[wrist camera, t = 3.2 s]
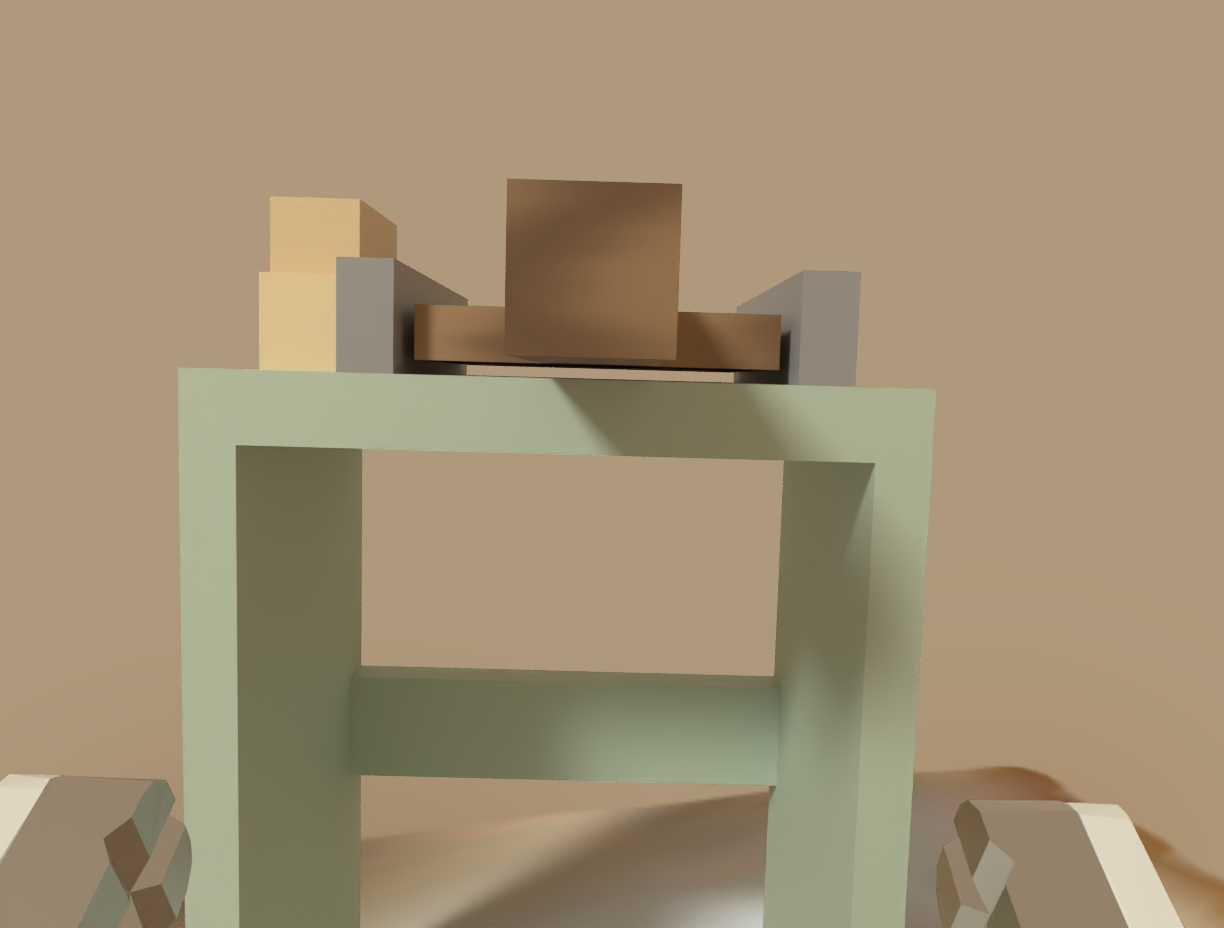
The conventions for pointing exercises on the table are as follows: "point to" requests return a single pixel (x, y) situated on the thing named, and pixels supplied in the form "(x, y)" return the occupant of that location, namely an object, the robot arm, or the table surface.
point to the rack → (530, 699)
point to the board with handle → (595, 291)
